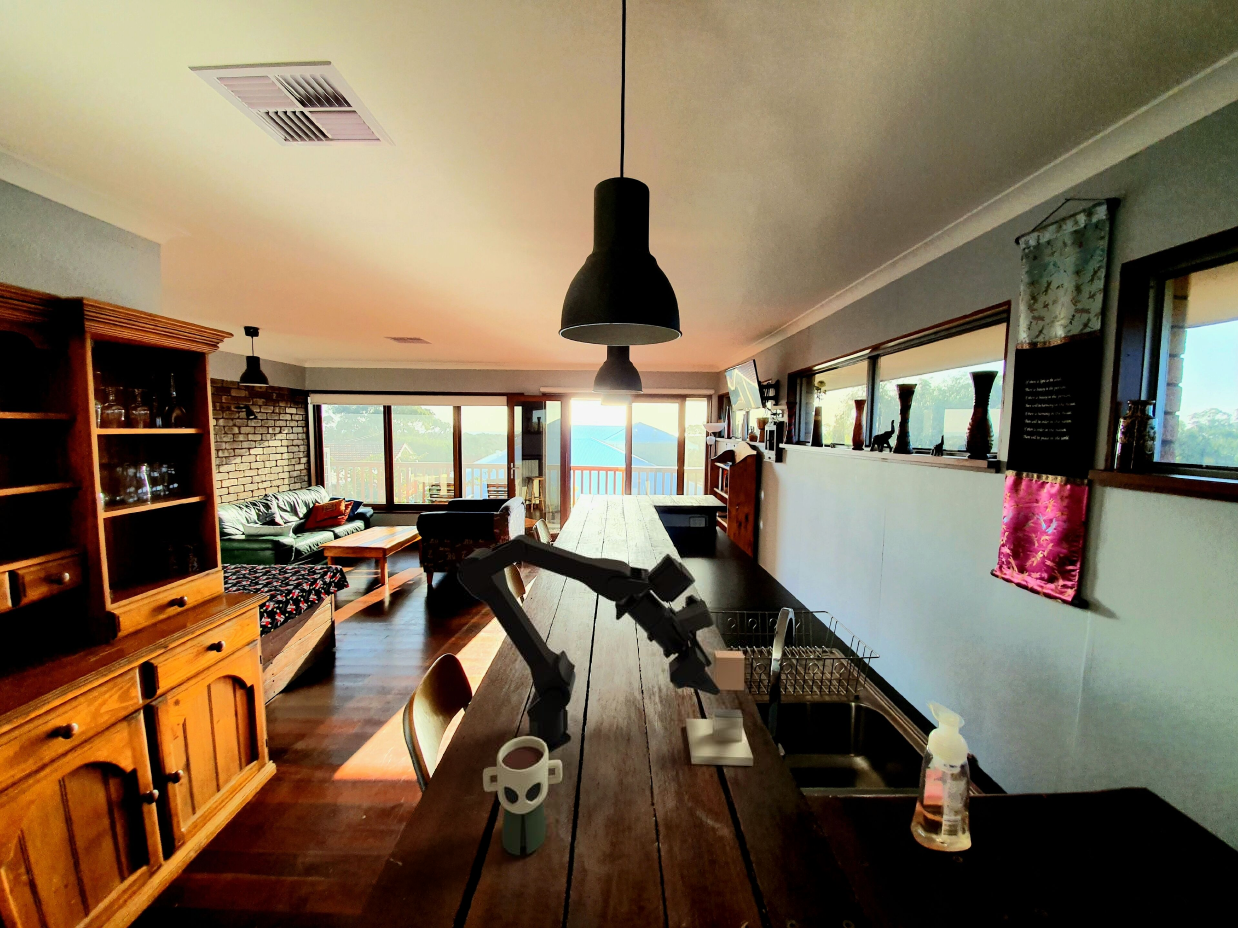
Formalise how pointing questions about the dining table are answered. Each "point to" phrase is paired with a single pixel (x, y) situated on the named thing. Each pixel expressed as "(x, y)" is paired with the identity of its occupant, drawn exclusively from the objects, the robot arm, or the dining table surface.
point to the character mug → (523, 790)
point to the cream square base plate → (719, 739)
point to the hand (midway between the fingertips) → (714, 678)
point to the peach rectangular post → (729, 670)
